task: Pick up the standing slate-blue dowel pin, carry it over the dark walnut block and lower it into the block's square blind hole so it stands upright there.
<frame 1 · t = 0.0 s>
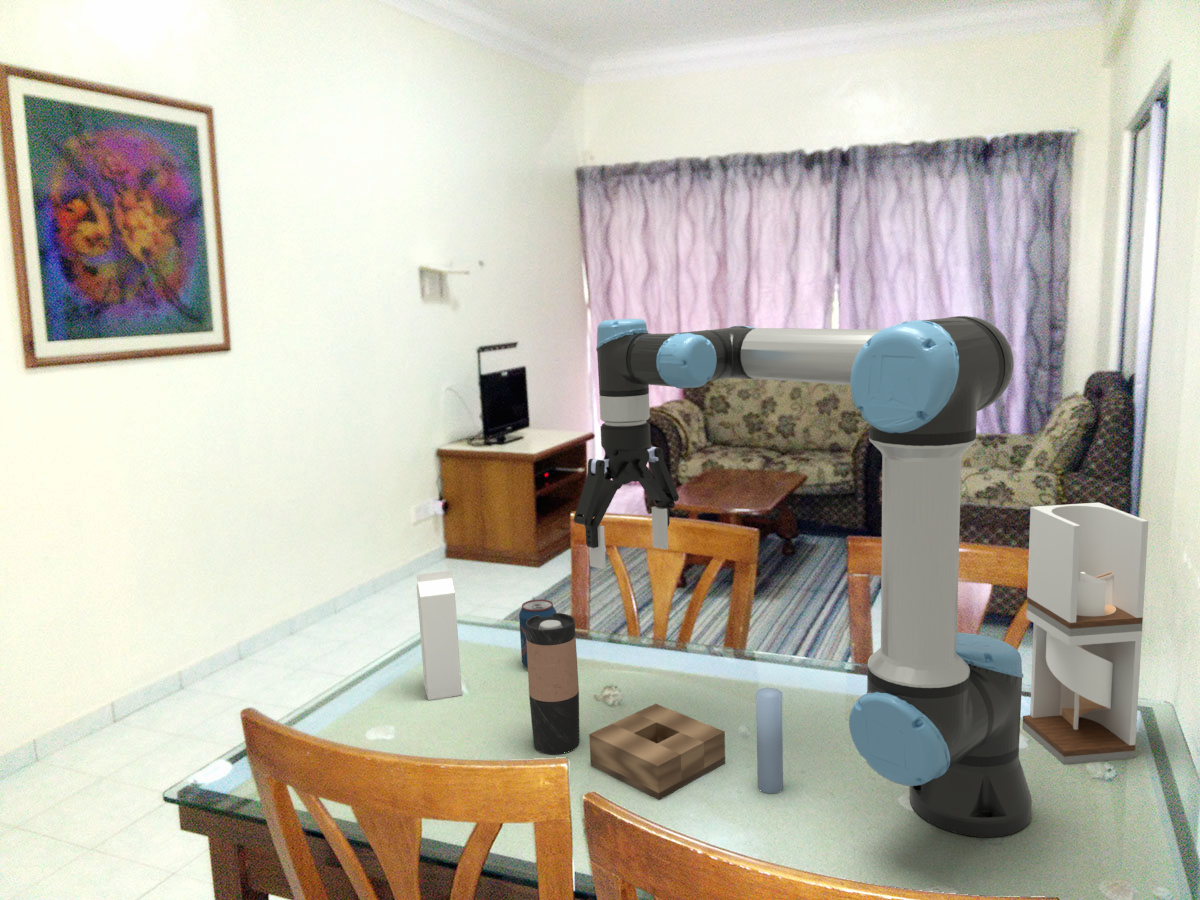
hand: (630, 557, 152), 28 cm above the table, tool pointing down, fingers open, 13 cm apart
bore block: (657, 764, 144), on the table
soda can: (540, 666, 182), on the table
spiral staircase model: (1076, 743, 145), on the table
milk: (443, 692, 173), on the table
travel mug: (556, 744, 152), on the table
pin: (770, 787, 136), on the table
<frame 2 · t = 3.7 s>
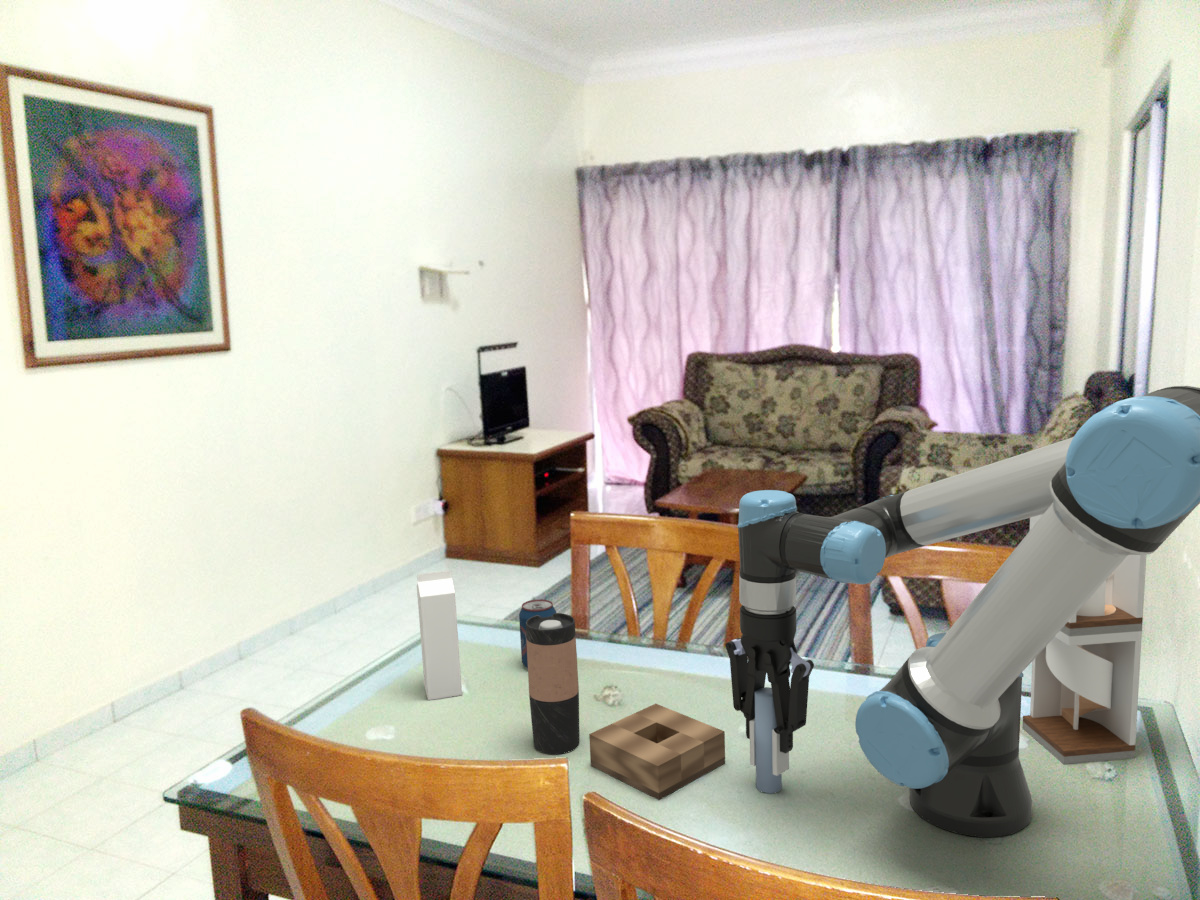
hand: (769, 766, 136), 3 cm above the table, tool pointing down, fingers closed on pin, 3 cm apart
pin: (768, 786, 136), on the table, touching gripper
everything else where it was.
when the fingers open (7 cm above the table, at t = 7.5 s): pin stays where it is, resting on bore block.
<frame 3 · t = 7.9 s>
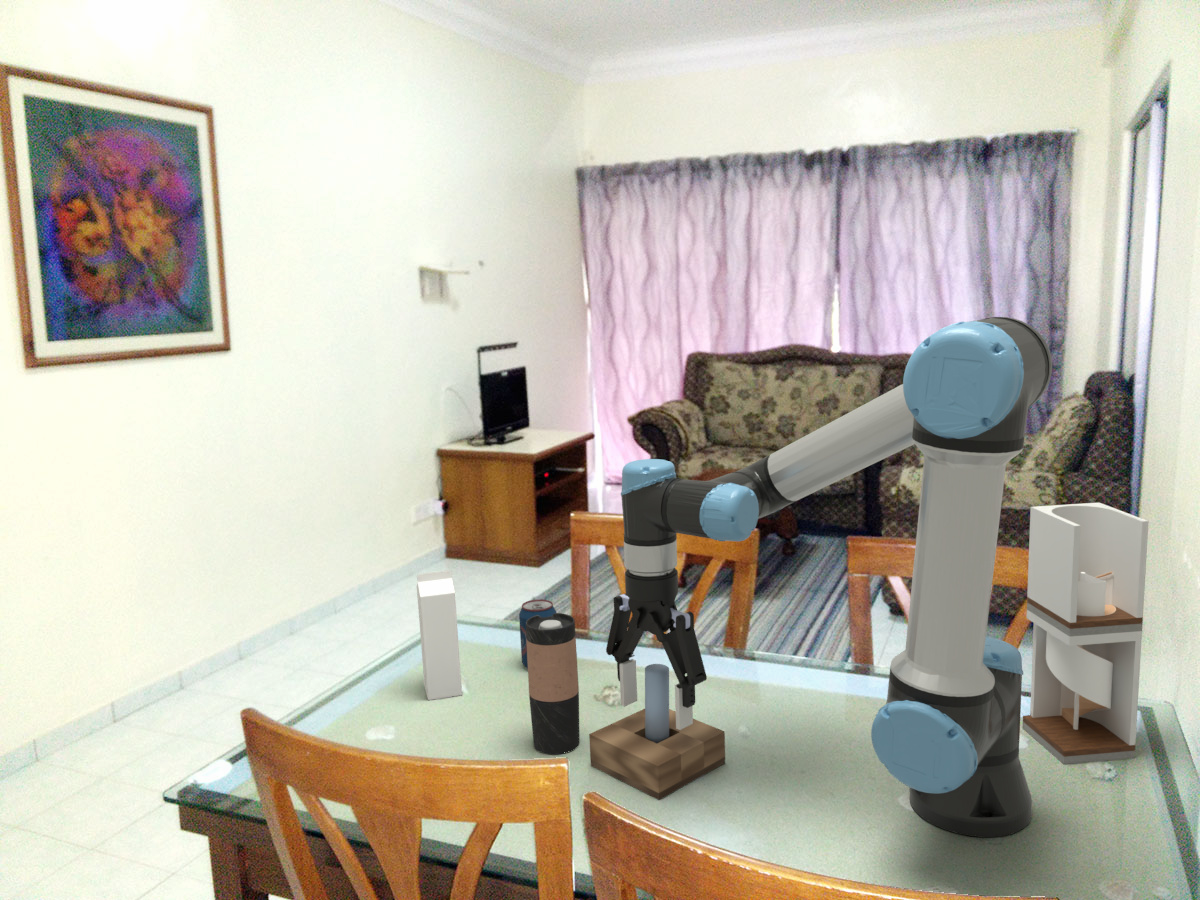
hand: (656, 714, 142), 8 cm above the table, tool pointing down, fingers open, 10 cm apart
pin: (657, 757, 144), point 1 cm above the table, touching bore block
everything else where it was.
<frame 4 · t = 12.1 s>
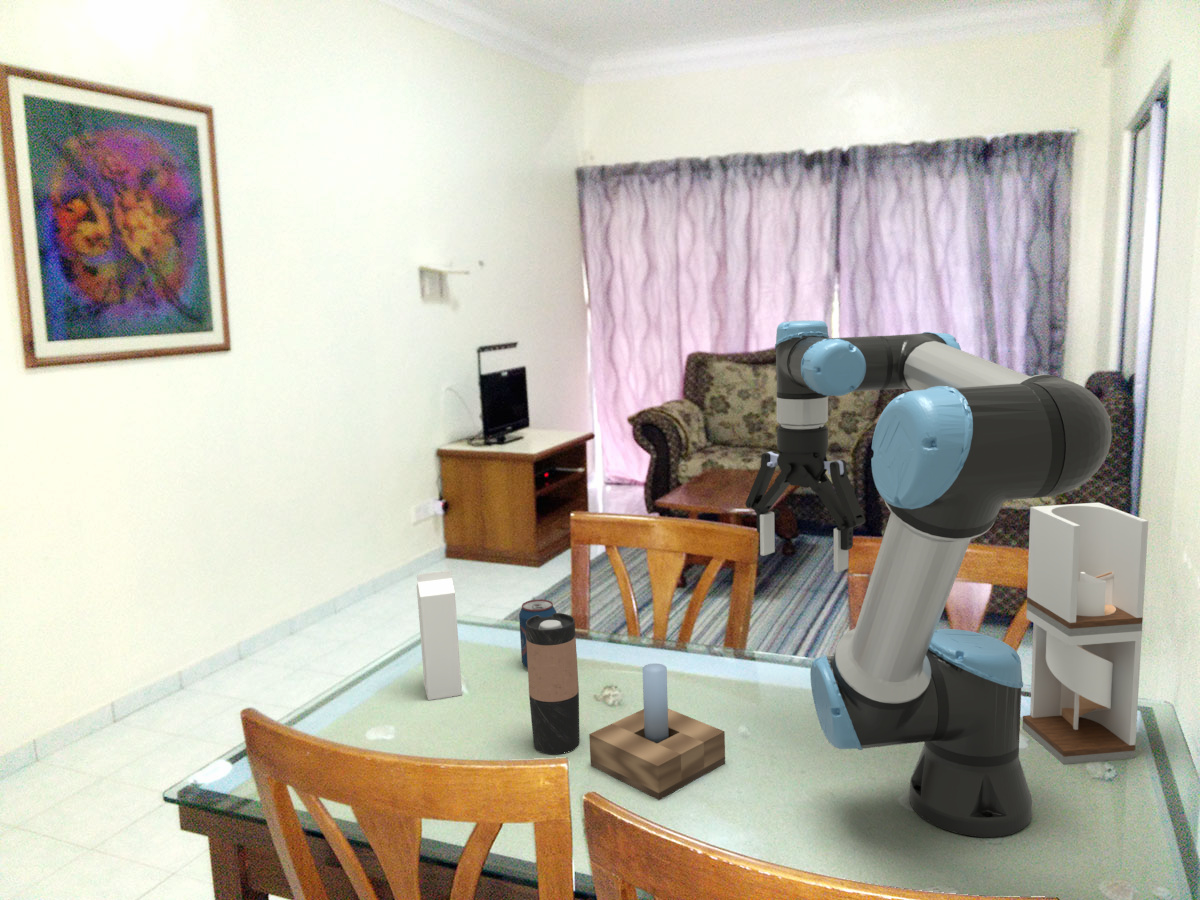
hand: (803, 561, 150), 27 cm above the table, tool pointing down, fingers open, 13 cm apart
nothing on the table moved.
at the end: pin 0.1 cm off-centre on the bore block, point 1.0 cm above the bore block's base; pin tilted 0°; the gripper is holding nothing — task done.
